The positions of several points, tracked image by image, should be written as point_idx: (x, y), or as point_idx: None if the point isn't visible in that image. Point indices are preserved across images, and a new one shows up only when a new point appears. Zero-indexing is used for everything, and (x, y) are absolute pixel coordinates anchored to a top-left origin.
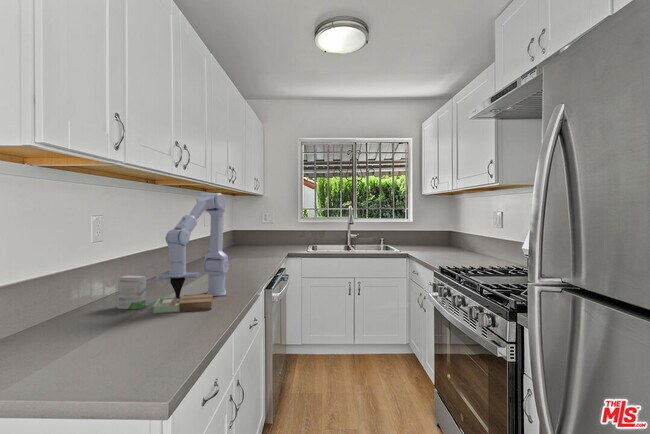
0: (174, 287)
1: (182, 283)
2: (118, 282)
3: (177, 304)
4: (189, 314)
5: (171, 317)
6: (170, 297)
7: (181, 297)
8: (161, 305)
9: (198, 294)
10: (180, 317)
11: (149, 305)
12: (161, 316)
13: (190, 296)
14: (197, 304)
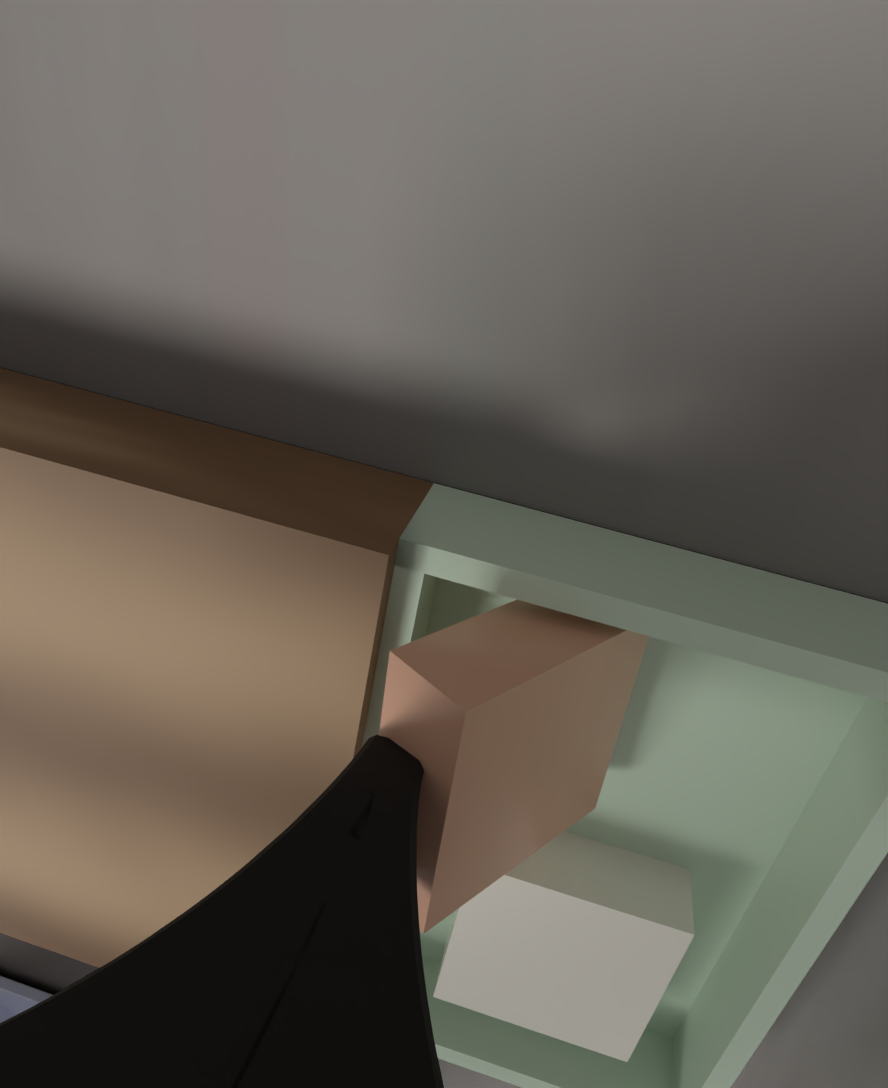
0: (383, 1011)
1: (4, 1031)
2: None
3: None
4: (257, 191)
5: (632, 110)
6: (516, 1083)
7: None
8: None
9: (84, 957)
10: (442, 8)
11: (837, 1062)
12: (821, 312)
13: None
14: (50, 438)
